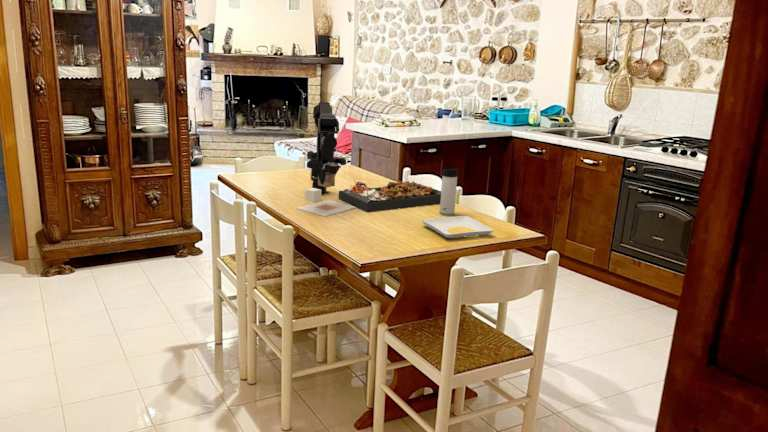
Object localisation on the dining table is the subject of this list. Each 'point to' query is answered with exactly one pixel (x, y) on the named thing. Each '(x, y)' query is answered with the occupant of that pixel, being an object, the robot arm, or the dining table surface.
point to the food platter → (390, 196)
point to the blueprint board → (326, 208)
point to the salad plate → (462, 221)
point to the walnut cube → (328, 180)
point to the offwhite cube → (313, 194)
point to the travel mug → (448, 191)
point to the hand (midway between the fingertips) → (326, 183)
